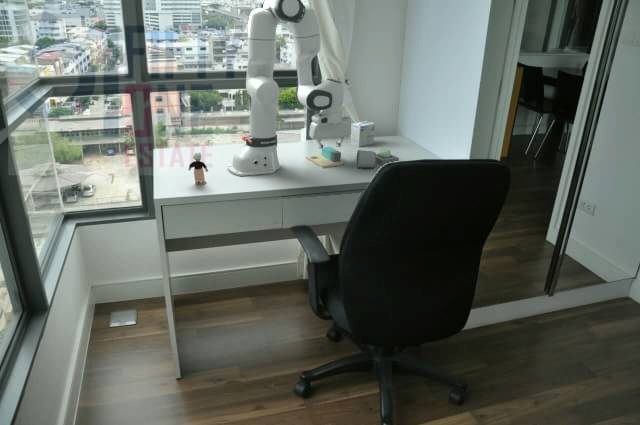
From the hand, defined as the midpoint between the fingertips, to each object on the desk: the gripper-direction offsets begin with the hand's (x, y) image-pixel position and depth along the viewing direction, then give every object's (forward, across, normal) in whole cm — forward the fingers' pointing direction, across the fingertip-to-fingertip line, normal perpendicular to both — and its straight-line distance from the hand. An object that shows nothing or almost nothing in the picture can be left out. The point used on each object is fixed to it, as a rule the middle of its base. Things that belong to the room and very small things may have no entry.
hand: (329, 147), depth 227 cm
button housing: (+5, -22, +13) cm, 26 cm away
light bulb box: (+6, -30, -16) cm, 34 cm away
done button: (+3, -22, +13) cm, 26 cm away
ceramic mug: (+6, -10, +14) cm, 18 cm away
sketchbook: (+6, +2, 0) cm, 7 cm away
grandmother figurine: (+9, +61, +2) cm, 62 cm away
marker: (+5, -1, 0) cm, 5 cm away
